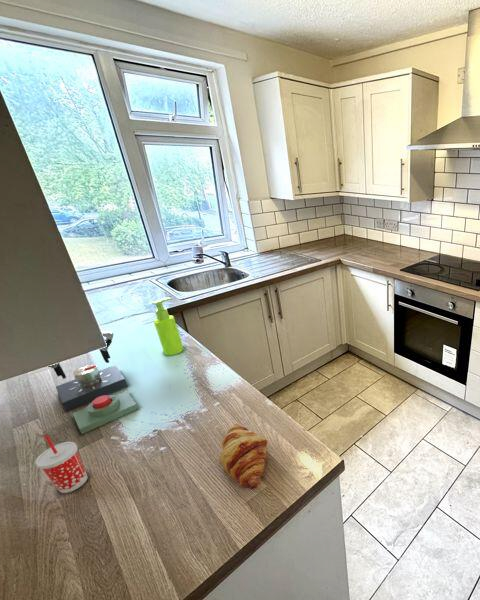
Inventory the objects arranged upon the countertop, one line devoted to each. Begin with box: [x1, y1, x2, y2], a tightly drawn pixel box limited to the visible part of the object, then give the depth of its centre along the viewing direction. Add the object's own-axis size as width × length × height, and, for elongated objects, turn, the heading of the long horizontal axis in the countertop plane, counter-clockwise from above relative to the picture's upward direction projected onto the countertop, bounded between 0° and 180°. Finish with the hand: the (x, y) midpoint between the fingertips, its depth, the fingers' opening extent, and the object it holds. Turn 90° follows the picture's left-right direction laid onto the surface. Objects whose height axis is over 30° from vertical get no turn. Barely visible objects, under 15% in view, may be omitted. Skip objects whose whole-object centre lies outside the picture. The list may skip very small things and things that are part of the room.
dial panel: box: [55, 364, 129, 412], centre depth 98 cm, size 14×11×3 cm
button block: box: [72, 390, 139, 435], centre depth 90 cm, size 12×9×4 cm
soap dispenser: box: [152, 297, 184, 356], centre depth 116 cm, size 6×7×20 cm
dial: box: [72, 364, 102, 388], centre depth 97 cm, size 5×5×5 cm
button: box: [91, 394, 111, 409], centre depth 89 cm, size 4×4×2 cm
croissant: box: [218, 423, 268, 490], centre depth 76 cm, size 21×10×8 cm, turn 36°
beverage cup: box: [35, 434, 88, 494], centre depth 68 cm, size 6×6×14 cm
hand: (86, 368), depth 96 cm, fingers open, 9 cm apart
